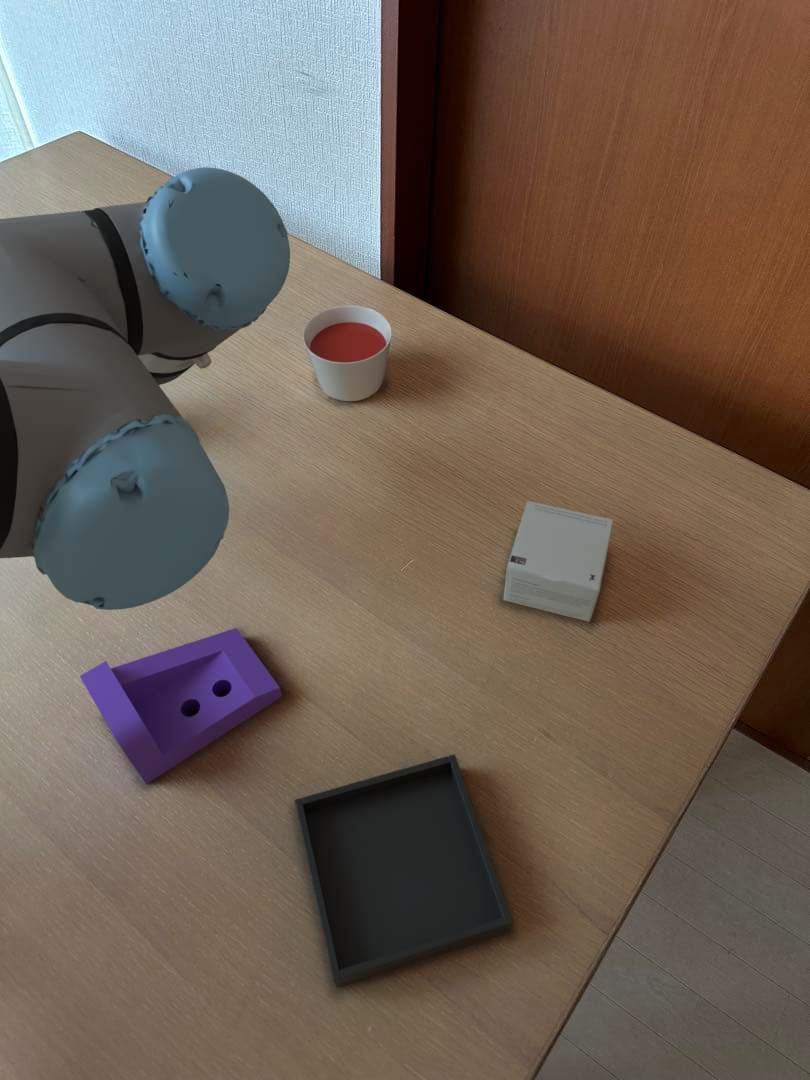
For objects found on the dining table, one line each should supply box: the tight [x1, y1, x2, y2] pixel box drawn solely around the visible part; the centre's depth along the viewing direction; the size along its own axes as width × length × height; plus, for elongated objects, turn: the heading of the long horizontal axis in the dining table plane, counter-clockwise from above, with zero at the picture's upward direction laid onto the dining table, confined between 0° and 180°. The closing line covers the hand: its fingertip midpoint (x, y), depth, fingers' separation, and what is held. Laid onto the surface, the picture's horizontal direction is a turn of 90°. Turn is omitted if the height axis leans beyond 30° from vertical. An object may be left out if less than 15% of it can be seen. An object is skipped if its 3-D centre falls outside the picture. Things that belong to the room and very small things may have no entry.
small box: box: [503, 500, 614, 623], centre depth 71 cm, size 8×8×5 cm
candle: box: [302, 304, 393, 402], centre depth 86 cm, size 9×9×6 cm
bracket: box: [79, 627, 283, 785], centre depth 64 cm, size 12×7×7 cm, turn 127°
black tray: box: [294, 754, 513, 988], centre depth 58 cm, size 12×12×3 cm
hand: (96, 383), depth 72 cm, fingers open, 13 cm apart
